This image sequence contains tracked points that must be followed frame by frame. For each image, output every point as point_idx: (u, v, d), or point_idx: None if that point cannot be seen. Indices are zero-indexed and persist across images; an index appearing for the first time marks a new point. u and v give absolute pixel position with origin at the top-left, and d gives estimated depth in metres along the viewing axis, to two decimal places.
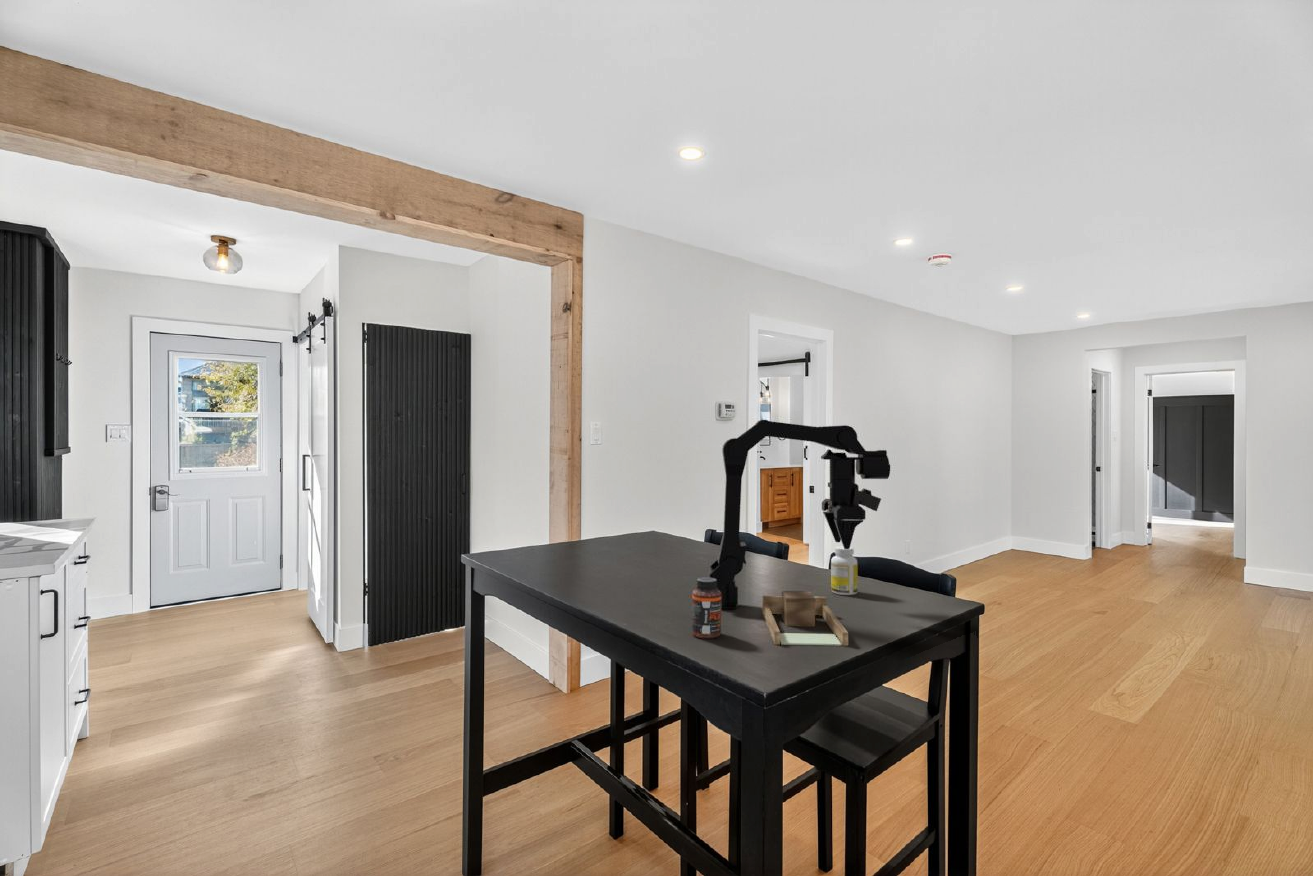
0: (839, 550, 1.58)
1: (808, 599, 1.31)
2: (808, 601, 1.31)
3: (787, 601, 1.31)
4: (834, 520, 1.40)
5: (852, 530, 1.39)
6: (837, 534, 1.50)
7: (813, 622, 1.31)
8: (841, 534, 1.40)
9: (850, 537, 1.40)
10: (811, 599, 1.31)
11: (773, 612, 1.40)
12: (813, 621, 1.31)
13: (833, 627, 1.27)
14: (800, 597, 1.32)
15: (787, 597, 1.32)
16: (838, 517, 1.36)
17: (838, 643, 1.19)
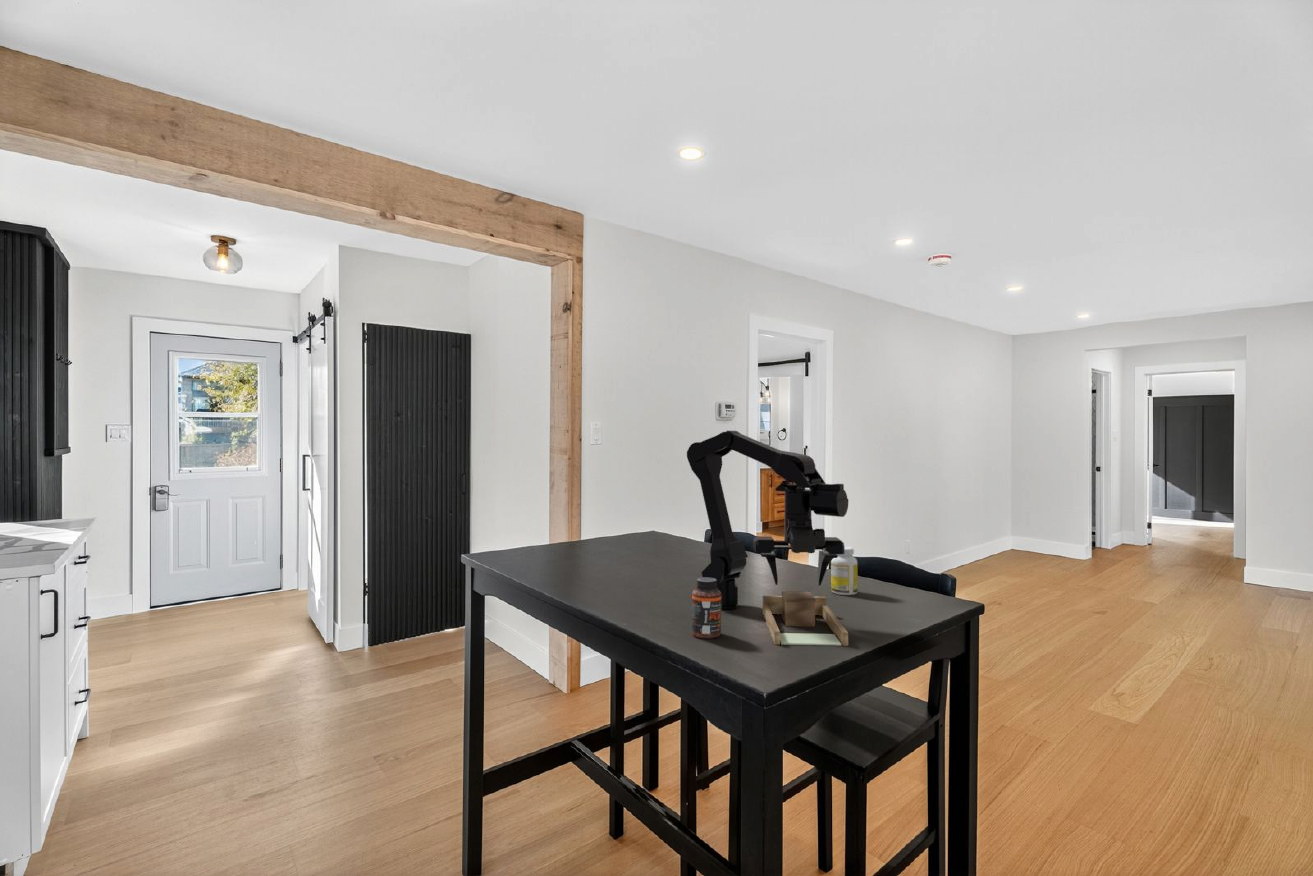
0: None
1: (808, 599, 1.31)
2: (808, 601, 1.31)
3: (787, 601, 1.31)
4: None
5: None
6: (818, 576, 1.34)
7: (813, 622, 1.31)
8: None
9: (772, 572, 1.34)
10: (811, 599, 1.31)
11: (773, 612, 1.40)
12: (813, 621, 1.31)
13: (833, 627, 1.27)
14: (800, 597, 1.32)
15: (787, 597, 1.32)
16: None
17: (838, 643, 1.19)
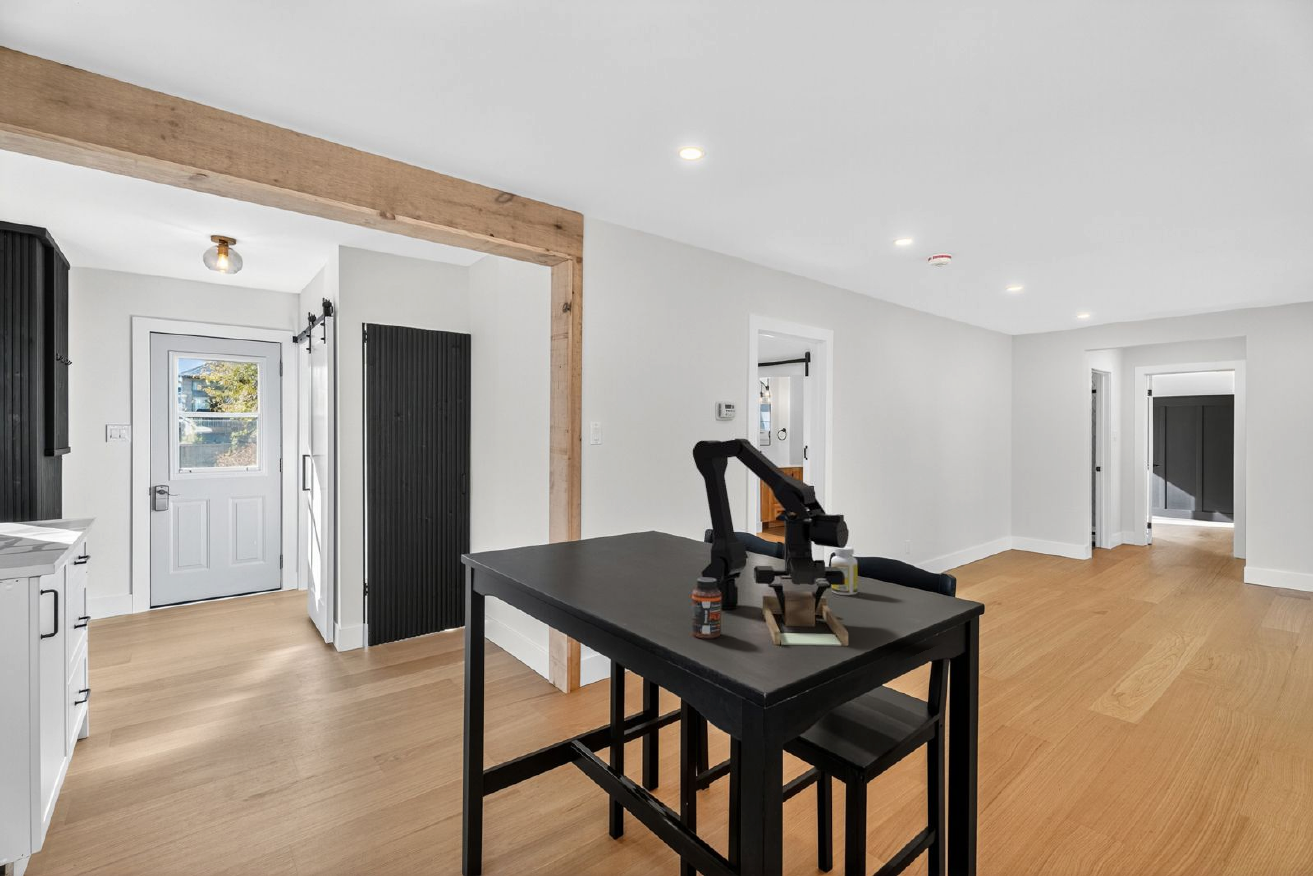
0: (839, 550, 1.58)
1: (808, 599, 1.31)
2: (808, 601, 1.31)
3: (787, 601, 1.31)
4: None
5: None
6: None
7: (813, 622, 1.31)
8: None
9: (779, 602, 1.34)
10: (811, 599, 1.31)
11: (773, 612, 1.40)
12: (813, 621, 1.31)
13: (833, 627, 1.27)
14: (800, 597, 1.32)
15: (787, 597, 1.32)
16: None
17: (838, 643, 1.19)
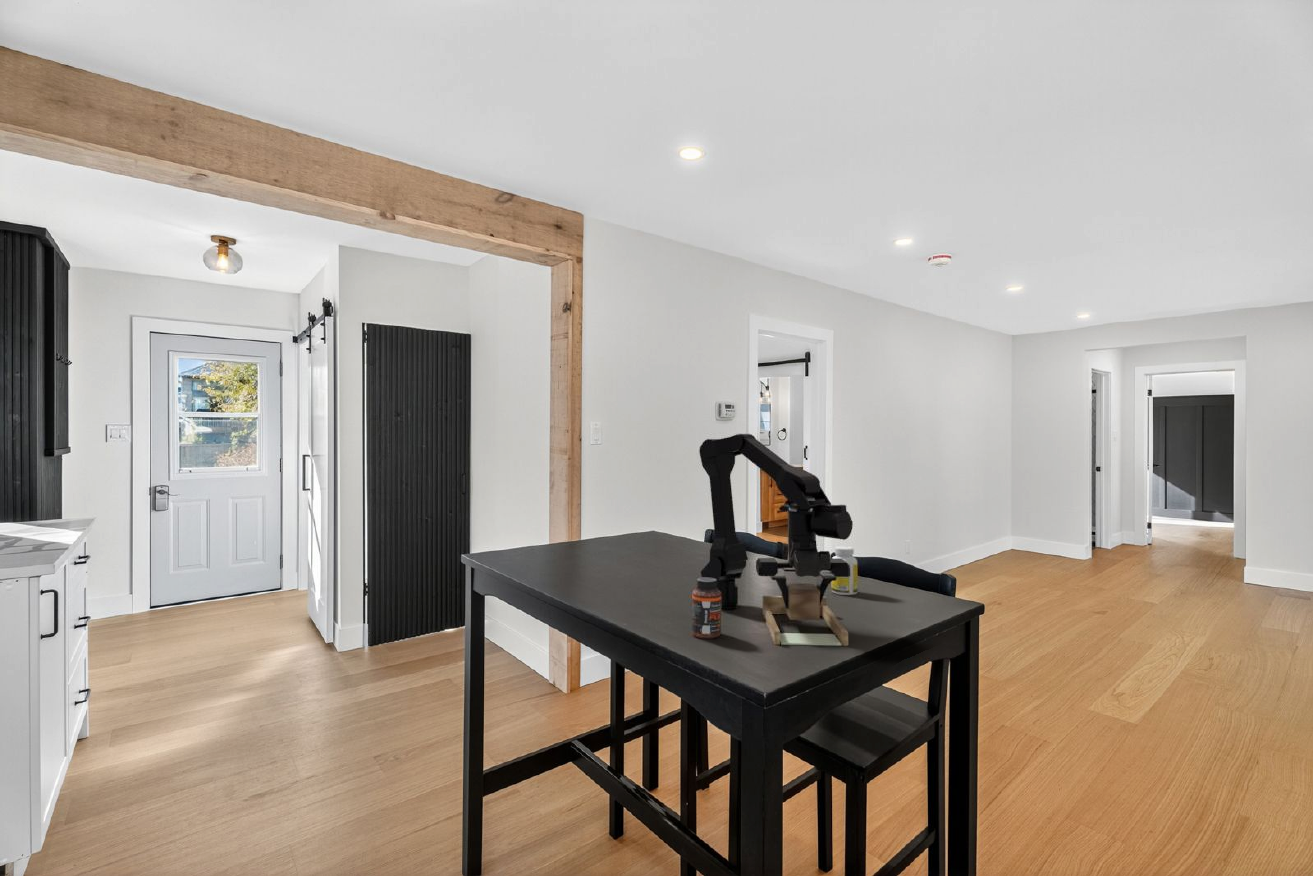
0: (839, 550, 1.58)
1: (812, 591, 1.27)
2: (813, 594, 1.27)
3: (791, 593, 1.27)
4: None
5: None
6: None
7: (818, 615, 1.27)
8: None
9: (782, 595, 1.30)
10: (816, 591, 1.27)
11: (773, 612, 1.40)
12: (818, 614, 1.27)
13: (833, 627, 1.27)
14: (804, 589, 1.28)
15: (791, 589, 1.28)
16: None
17: (838, 643, 1.19)
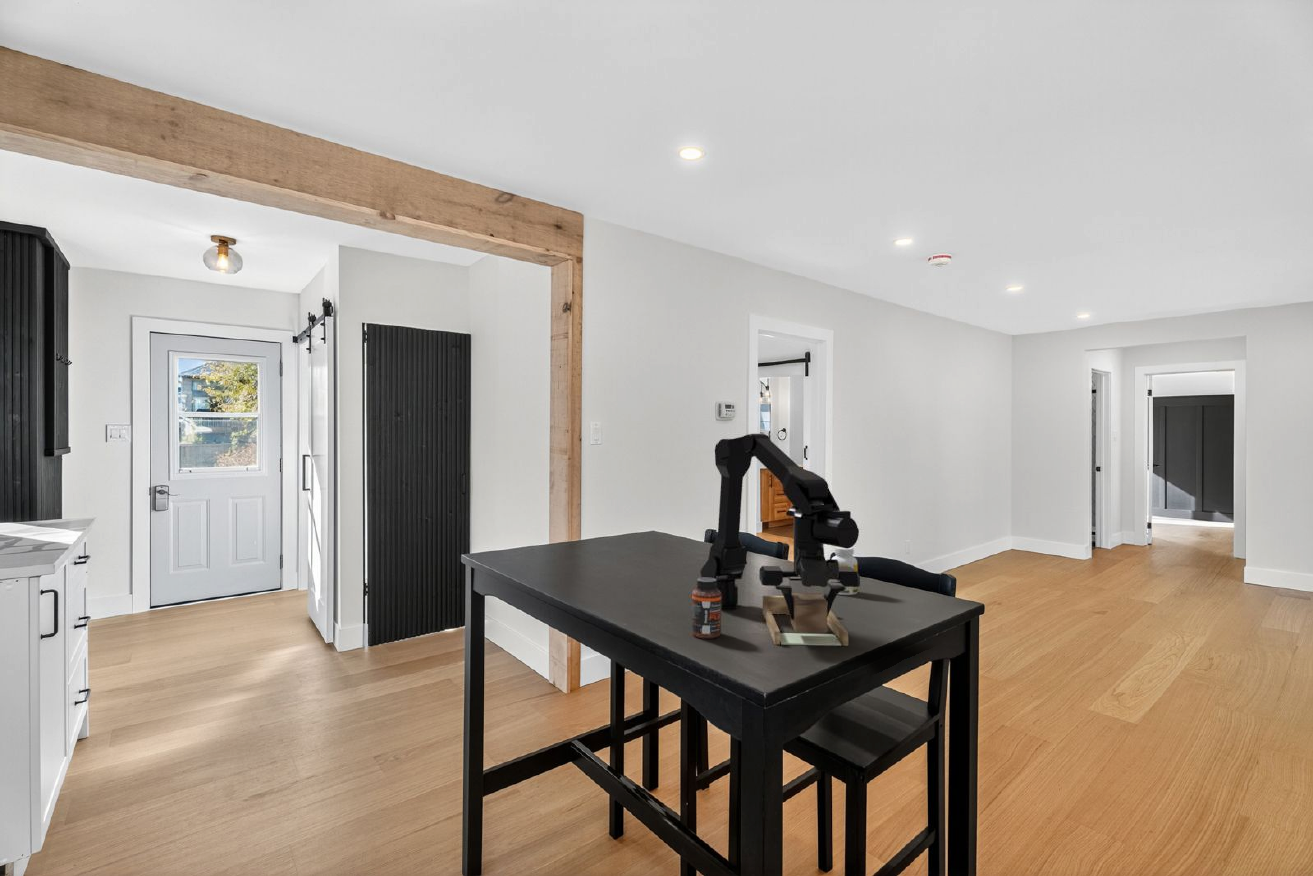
0: (839, 550, 1.58)
1: (820, 602, 1.19)
2: (820, 605, 1.19)
3: (796, 604, 1.19)
4: None
5: None
6: None
7: (825, 627, 1.19)
8: None
9: (787, 606, 1.22)
10: (823, 602, 1.19)
11: (773, 612, 1.40)
12: (825, 626, 1.19)
13: (833, 627, 1.27)
14: (811, 600, 1.20)
15: (796, 600, 1.20)
16: None
17: (838, 643, 1.19)
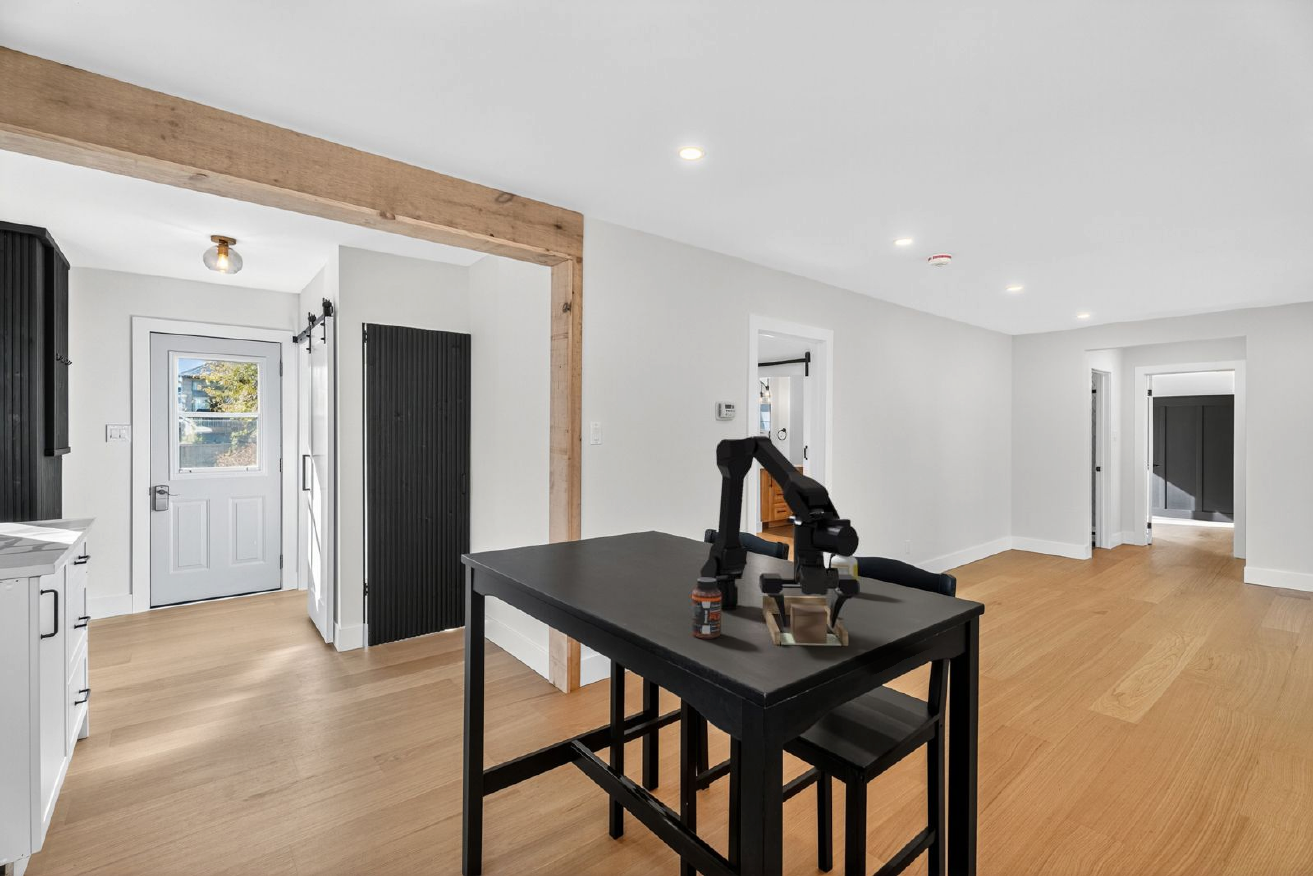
0: None
1: (819, 613, 1.19)
2: (819, 616, 1.19)
3: (796, 615, 1.19)
4: None
5: None
6: (831, 618, 1.22)
7: (825, 638, 1.19)
8: None
9: (780, 613, 1.22)
10: (823, 613, 1.19)
11: (773, 612, 1.40)
12: (825, 637, 1.19)
13: None
14: (810, 611, 1.20)
15: (796, 611, 1.20)
16: None
17: (838, 643, 1.19)
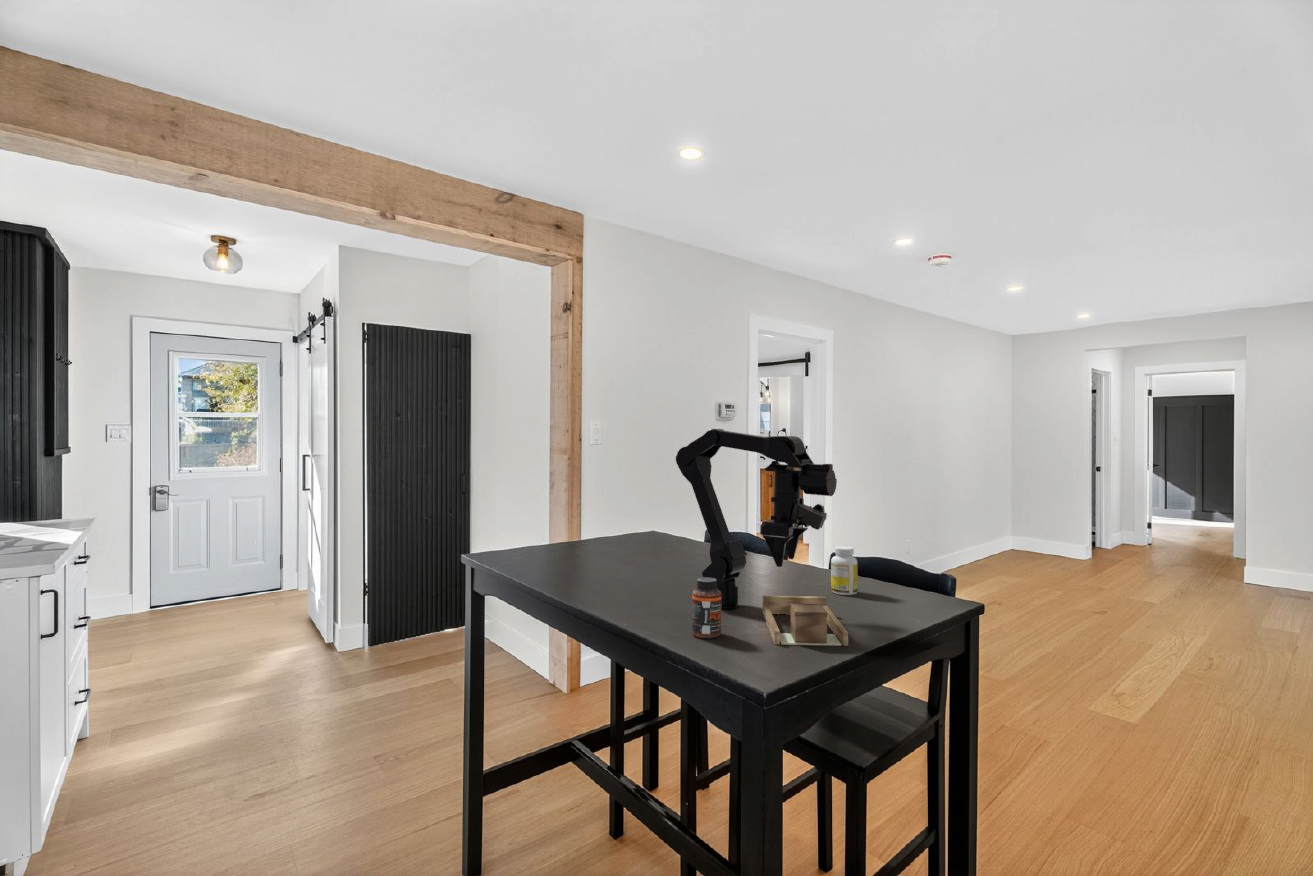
0: (839, 550, 1.58)
1: (819, 613, 1.19)
2: (819, 616, 1.19)
3: (796, 615, 1.19)
4: None
5: (782, 547, 1.32)
6: (790, 550, 1.41)
7: (825, 638, 1.19)
8: (771, 550, 1.33)
9: (781, 554, 1.32)
10: (823, 613, 1.19)
11: (773, 612, 1.40)
12: (825, 637, 1.19)
13: (833, 627, 1.27)
14: (810, 611, 1.20)
15: (796, 611, 1.20)
16: (761, 532, 1.31)
17: (838, 643, 1.19)
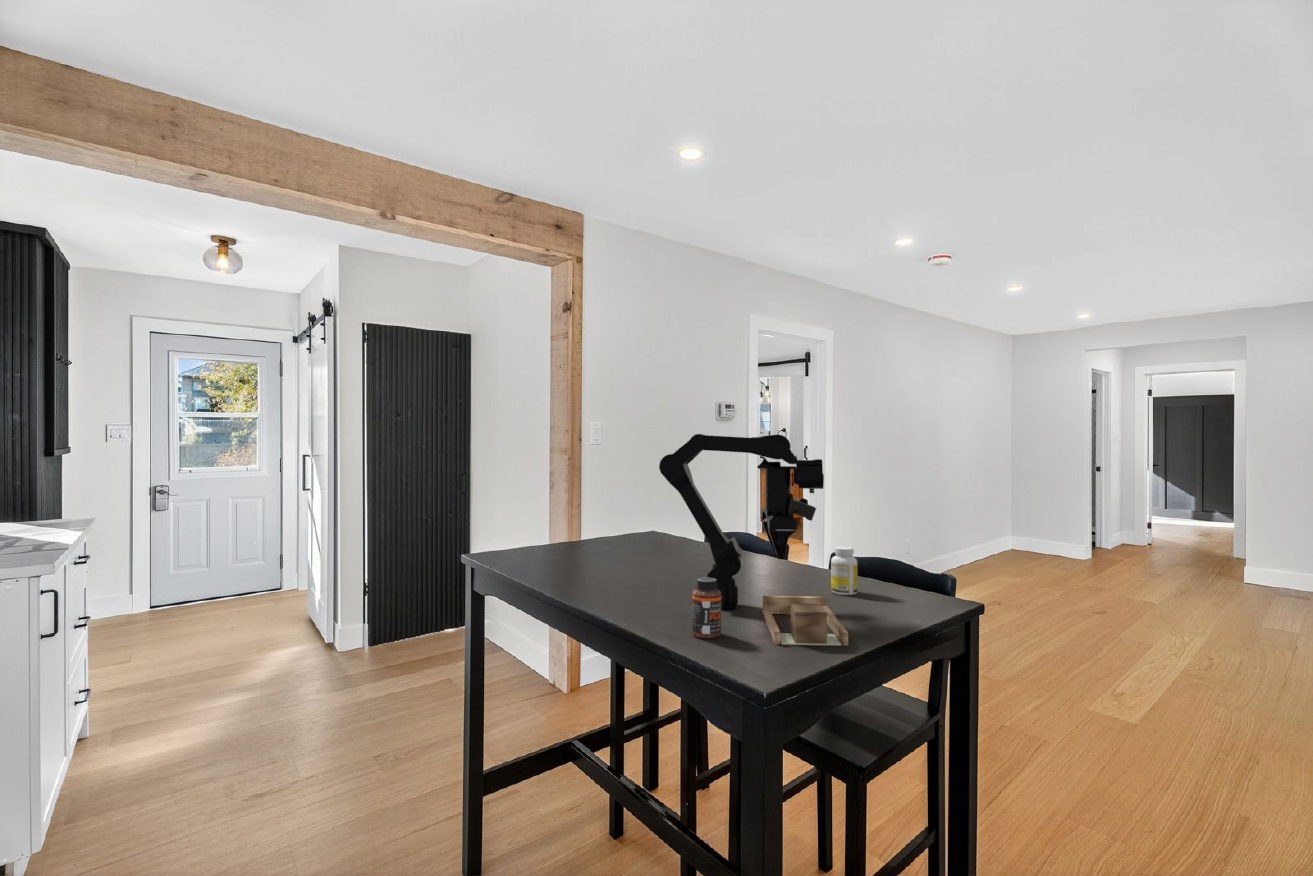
0: (839, 550, 1.58)
1: (819, 613, 1.19)
2: (819, 616, 1.19)
3: (796, 615, 1.19)
4: (768, 530, 1.39)
5: (785, 540, 1.38)
6: None
7: (825, 638, 1.19)
8: (775, 544, 1.39)
9: (784, 547, 1.39)
10: (823, 613, 1.19)
11: (773, 612, 1.40)
12: (825, 637, 1.19)
13: (833, 627, 1.27)
14: (810, 611, 1.20)
15: (796, 611, 1.20)
16: (770, 527, 1.36)
17: (838, 643, 1.19)
